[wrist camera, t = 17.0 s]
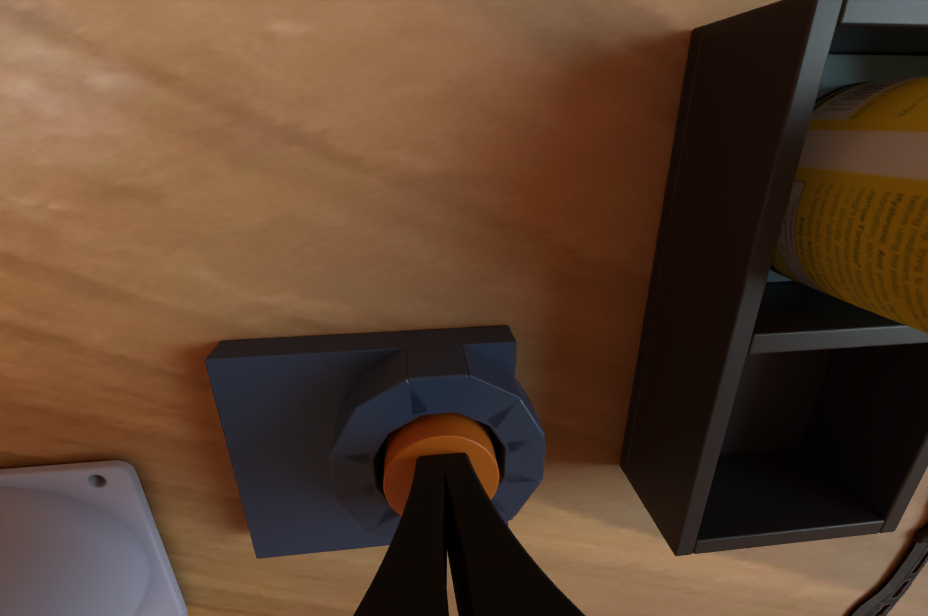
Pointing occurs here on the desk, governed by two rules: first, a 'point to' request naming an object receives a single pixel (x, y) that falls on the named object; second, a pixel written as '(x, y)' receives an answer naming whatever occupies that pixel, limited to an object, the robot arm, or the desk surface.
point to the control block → (360, 426)
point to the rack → (770, 304)
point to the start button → (436, 452)
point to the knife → (898, 580)
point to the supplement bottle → (863, 200)
